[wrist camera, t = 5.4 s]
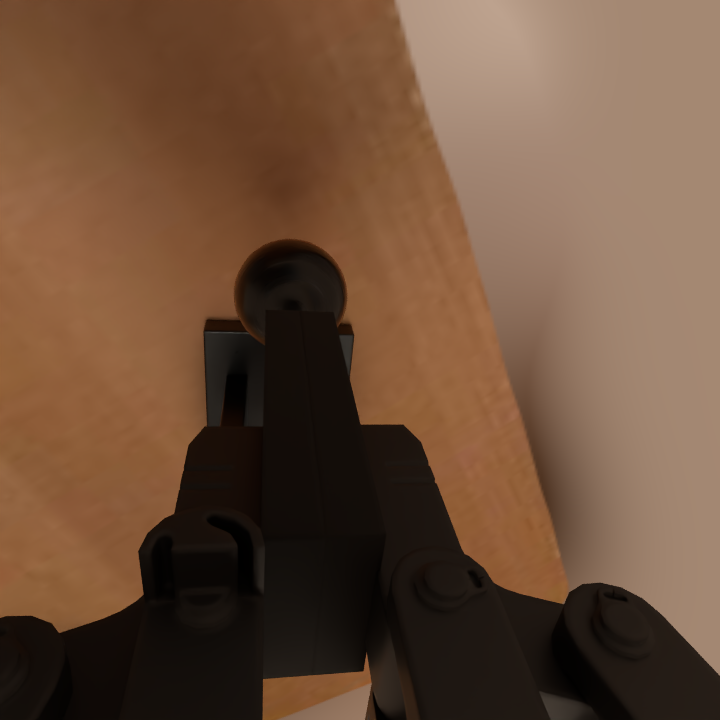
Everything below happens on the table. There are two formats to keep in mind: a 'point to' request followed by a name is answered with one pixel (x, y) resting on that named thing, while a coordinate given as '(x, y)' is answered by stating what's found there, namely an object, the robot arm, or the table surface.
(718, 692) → the robot arm
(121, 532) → the table surface
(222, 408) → the lever bracket
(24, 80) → the table surface
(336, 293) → the press lever
